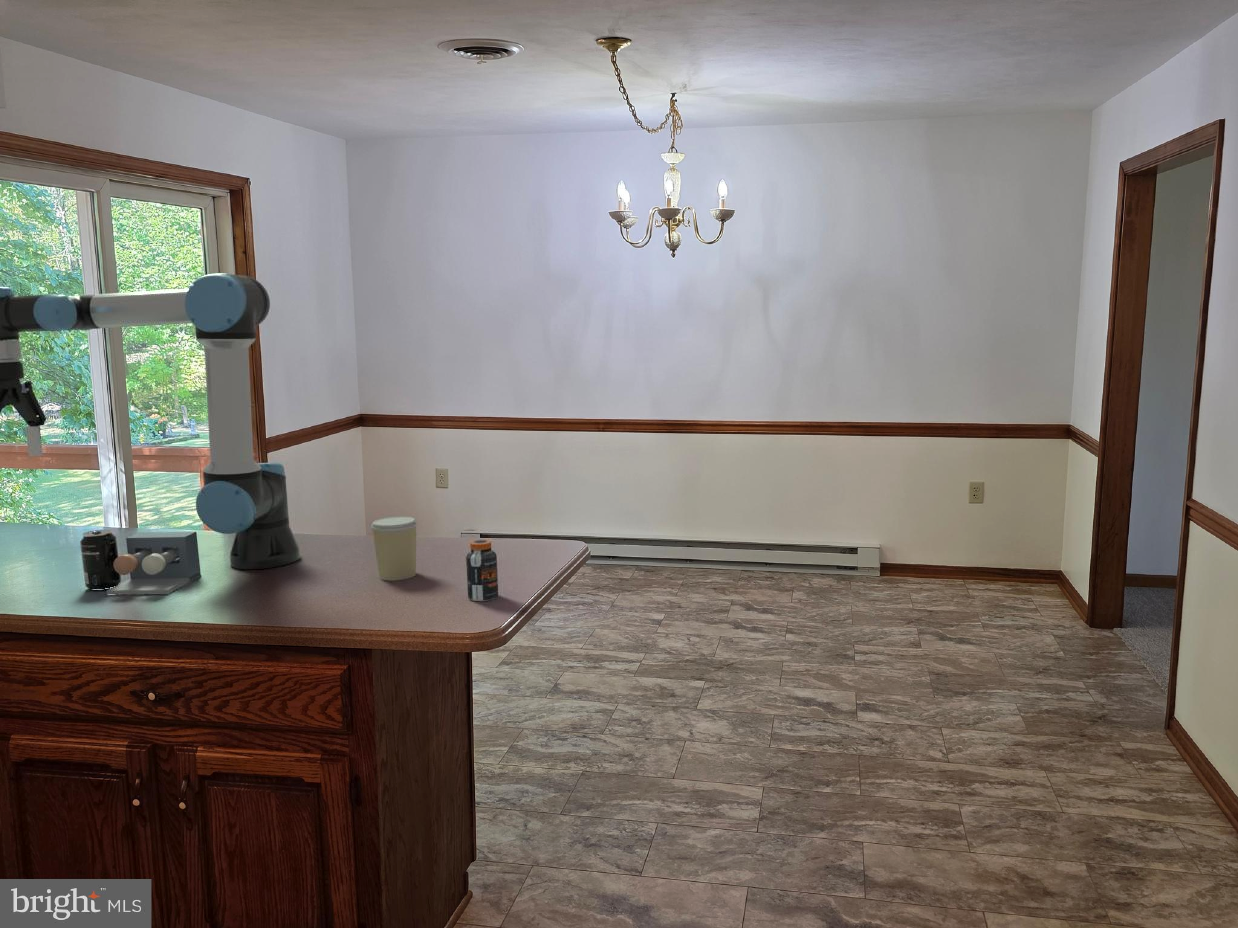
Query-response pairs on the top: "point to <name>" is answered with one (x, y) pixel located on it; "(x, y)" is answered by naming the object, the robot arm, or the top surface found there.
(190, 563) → the mount
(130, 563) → the tan flanged peg
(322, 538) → the top surface
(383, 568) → the coffee cup
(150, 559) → the knob ivory
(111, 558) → the beverage can
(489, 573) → the pill bottle
